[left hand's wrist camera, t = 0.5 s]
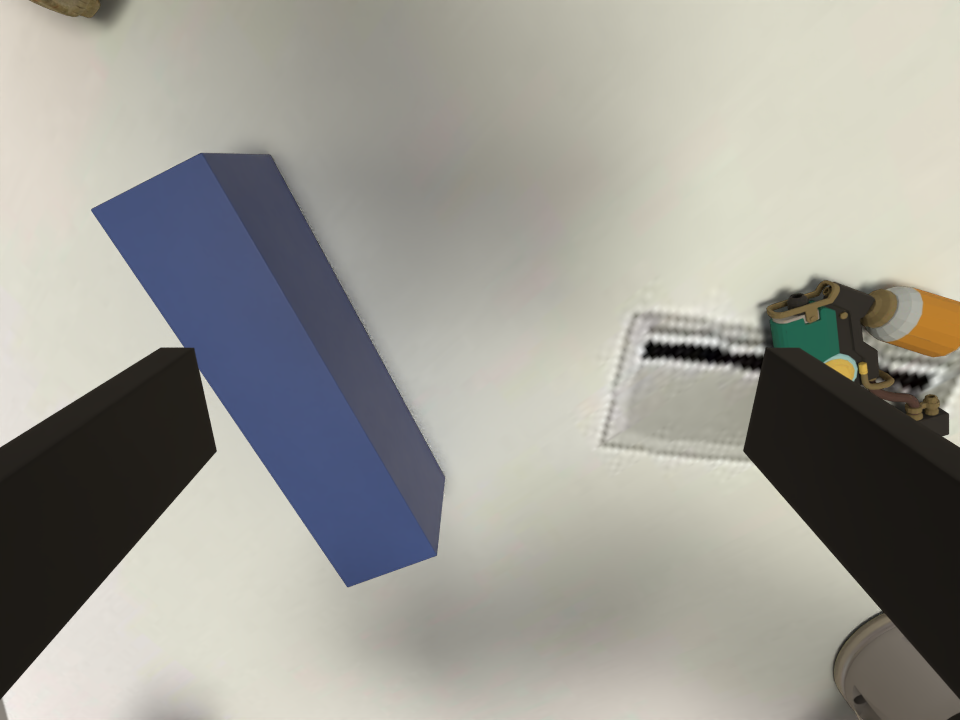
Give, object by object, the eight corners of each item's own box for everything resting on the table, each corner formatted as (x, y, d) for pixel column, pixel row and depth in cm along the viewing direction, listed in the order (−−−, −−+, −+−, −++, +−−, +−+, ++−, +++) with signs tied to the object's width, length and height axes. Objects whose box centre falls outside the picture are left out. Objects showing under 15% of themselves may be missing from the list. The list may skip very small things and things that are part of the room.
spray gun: (912, 452, 45) (733, 462, 46) (971, 262, 38) (759, 277, 39) (951, 484, 41) (755, 493, 42) (1025, 278, 34) (788, 294, 35)
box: (183, 197, 37) (89, 209, 28) (270, 154, 36) (201, 152, 27) (372, 505, 46) (347, 587, 37) (445, 477, 45) (437, 555, 36)
